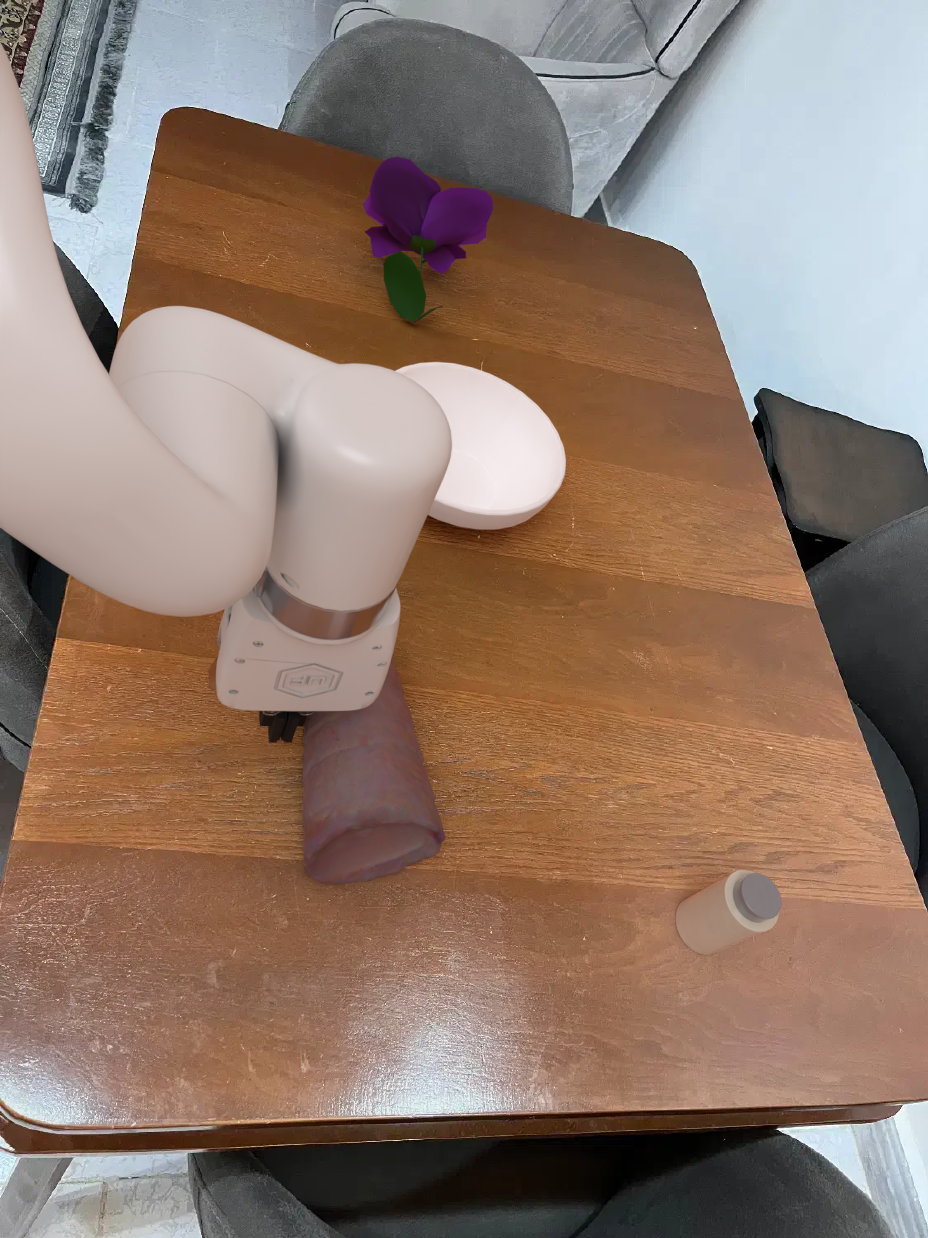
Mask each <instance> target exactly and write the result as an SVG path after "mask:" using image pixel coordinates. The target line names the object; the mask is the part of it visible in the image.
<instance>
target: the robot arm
mask: <svg viewBox="0 0 928 1238" xmlns="http://www.w3.org/2000/svg"><path fill="white" fill-rule="evenodd" d="M12 67H13V66H12V65H11V61H10V59H9V57H8V54H7V52H6V50H5V47H4V46H3V44H2V43H1V42H0V529H1V530H2V531H4V532H5V533H7V534H8V535H10V536H11V537H13V538H14V539H15V540H17V541H18V542H20V543H21V544H22V545H24V546H25V547H27V548H28V549H30V550H32V551H33V552H34V553H35V554H37V555H39V556H40V557H42V558H43V559H45V560H46V561H47V562H49V563H50V564H52V565H54V566H55V567H56V568H58V569H60V570H61V571H63V572H65V574H68V575H69V576H71V577H72V578H74V579H75V580H77V581H78V582H80V583H82V584H84V585H85V586H88V587H89V588H91V589H92V590H94V591H96V592H98V593H100V594H102V595H103V596H106V597H108V598H110V599H112V600H115V601H116V602H119V603H121V604H123V605H126V606H129V607H131V608H134V609H137V610H141V611H142V612H143V611H144V612H147V613H151V614H156V615H161V616H167V617H168V616H169V617H178V618H179V617H180V618H187V617H188V618H189V617H191V618H192V617H201V616H206V615H211V614H215V613H219V612H221V611H223V613H222V616H221V619H220V624H219V628H218V632H217V639H216V644H217V648H218V649H219V651H218V655H217V657H216V658H215V659H214V661H213V662H212V664H211V665H210V667H209V668H208V678H207V679H208V685H207V686H208V689H210V690H213V691H216V695H217V696H216V697H217V700H218V701H219V703H221V704H222V705H224V706H225V707H228V708H231V709H234V710H239V711H253V712H254V711H256V712H257V711H258V718H259V719H258V722H259V727H267V735H268V737H267V738H268V743H269V744H277V742H280V741H281V742H283V743H284V744H285V743H286V744H289V743H291V744H292V742H293V740H294V738H295V735H296V733H297V732H296V731H297V729H298V727H304V726H303V725H304V723H305V720H306V717H307V716H308V715H313V714H315V713H316V712H317V711H351V710H358V709H362V708H365V707H368V706H369V705H371V704H372V703H373V702H374V701H375V700H376V698H377V697H378V695H379V693H380V691H381V689H382V686H383V684H384V681H385V678H386V675H387V672H388V669H389V666H390V662H391V658H392V655H393V656H394V651H395V647H396V642H397V638H398V632H399V626H400V620H401V619H400V618H401V599H400V596H399V593H398V589H397V586H398V584H399V582H400V579H401V577H402V574H403V573H404V569H405V568H406V565H407V563H408V561H409V558H410V556H411V554H412V552H413V549H414V547H415V545H416V543H417V540H418V538H419V536H420V533H421V532H422V529H423V527H424V524H425V522H426V520H427V517H428V516H429V515H428V513H429V511H430V508H431V506H432V504H433V502H434V499H435V497H436V495H437V492H438V490H439V488H440V486H441V483H442V481H443V479H444V476H445V473H446V471H447V468H448V465H449V462H450V459H451V452H452V437H451V429H450V426H449V423H448V420H447V418H446V415H445V413H444V412H443V410H442V408H441V406H440V405H439V404H438V402H437V401H436V400H435V398H434V397H433V396H432V395H431V394H430V393H429V392H428V391H427V390H425V389H424V388H423V387H422V386H420V385H419V384H418V383H416V382H415V381H413V380H412V379H410V378H408V377H406V376H405V375H403V374H401V373H398V372H396V370H393V369H391V368H387V367H384V366H381V365H375V364H370V363H359V362H358V363H357V362H353V363H352V362H351V363H337V362H334V361H332V360H329V359H327V358H324V357H321V356H319V355H317V354H314V353H312V352H310V351H307V350H305V349H302V348H300V347H297V346H296V345H294V344H291V343H289V342H287V341H285V340H282V339H280V338H279V337H276V336H273V335H271V334H269V333H266V332H265V331H262V330H260V329H258V328H256V327H255V326H252V325H249V324H247V323H245V322H243V321H240V320H237V319H235V318H232V317H229V316H227V315H224V314H222V313H218V312H215V311H212V310H208V309H205V308H200V307H193V306H185V305H168V306H167V305H166V306H161V307H157V308H153V309H150V310H148V311H146V312H144V313H142V314H140V315H138V316H137V317H136V318H135V319H133V320H132V321H131V322H130V323H129V324H128V326H126V328H125V329H124V331H123V332H122V333H121V336H120V337H119V338H118V339H119V340H118V342H117V343H116V347H115V349H114V352H113V356H112V360H111V363H110V368H109V372H108V370H107V369H106V367H105V366H104V363H102V361H101V360H100V358H99V355H98V353H97V351H96V350H95V347H94V345H93V344H92V342H91V340H90V338H89V336H88V334H87V332H86V330H85V328H84V326H83V324H82V321H81V320H80V317H79V314H78V312H77V310H76V307H75V305H74V301H73V299H72V297H71V296H70V292H69V290H68V287H67V283H66V279H65V277H64V274H63V271H62V268H61V264H60V262H59V259H58V255H57V250H56V246H55V243H54V238H53V234H52V232H51V231H52V230H51V227H50V221H49V217H48V212H47V207H46V201H45V195H44V191H43V184H42V180H41V174H40V169H39V163H38V159H37V152H36V147H35V142H34V139H33V138H34V137H33V134H32V130H31V125H30V122H29V118H28V114H27V111H26V108H25V104H24V103H25V102H24V101H23V97H22V94H21V90H20V87H19V84H18V82H17V78H16V76H15V73H14V71H13V68H12Z"/></svg>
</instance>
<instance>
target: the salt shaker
mask: <svg viewBox="0 0 928 1238" xmlns="http://www.w3.org/2000/svg"><path fill="white" fill-rule="evenodd" d="M782 902H783V901H782V896H781V892H780V890H779V889H778V886H777V885H776V884H775V882H773V880H772V879H770V878H769V877H768V876H767V875H764V874H762V873H760V872H759V873H758V872H755V871H752V870H749V869H739V870H735V871H733V872H732V873H730V874H728V875H726V876H724V877H723V878H721V879H719V880H717V881H715V882H714V883H712V884H710V885H708V886H707V887H704V889H701V890H699V891H697V892H695V893H694V894H692V895H689V897H687V898H684V900H682V901H681V902H680V903H679V904H678V906H677V908H676V912H675V919H674V920H675V926H676V931H677V933H678V935H679V937H680V939H681V940H682V941H683V943H684V944H685V945H686V946H687V947H688V949H690V950H691V951H693V952H695V953H696V954H699V955H702V956H713V955H715V954H718V953H720V952H722V951H724V950H727V949H730V948H731V947H733V946H737V945H738V944H740V943H743V942H744V941H745V942H746V941H747V940H749V939H752V938H754V937H756V936H759V935H761V934H764V933H766V932H769V931H770V930H771V929H773V927H775V925H776V923H777V922H778V919H779V916H780V915H779V914H780V911H781V909H782Z"/></svg>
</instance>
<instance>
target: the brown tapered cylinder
mask: <svg viewBox="0 0 928 1238" xmlns="http://www.w3.org/2000/svg"><path fill="white" fill-rule="evenodd" d="M410 709H411V708H410V707H409V703H408V701H407V699H406V697H405V696H404V686H403V684H402V681H401V678H400V675H399V673H398V671H397V665H396V660H395V656H394V654H393V655H392V658H391V662H390V666H389V669H388V672H387V675H386V678H385V681H384V684H383V686H382V689H381V691H380V693H379V695H378V697H377V698H376V700H375V701H374V702H373V703H372V704H371V705H369V706H368V707H365V708H362V709H358V710H351V711H317V712H316V713H315V714H313V715H308V716H307V717H306V720H305V723H304V725H303V726H302V727H303V741H302V742H303V745H302V746H303V755H302V774H301V776H302V778H301V779H302V786H303V788H302V820H301V821H302V823H301V824H302V825H301V826H302V831H303V839H302V847H303V849H302V853H303V854H302V856H303V857H302V858H303V859H302V862H303V863H302V864H303V870H304V874H305V875H306V876H308V877H310V878H312V879H313V880H314V881H315V882H318V883H319V884H330V885H342V884H348V883H354V882H370V881H373V880H374V879H377V878H380V877H386V876H389V875H394V874H398V873H399V872H401V871H403V869H405V868H407V867H410V866H412V865H415V864H418V863H420V862H422V861H423V860H425V859H430V858H433V857H436V856H437V855H438V854H439V852H440V850H441V846H442V844H443V843H444V841H445V840H446V838H447V837H446V834H445V830H444V826H443V823H442V819H441V816H440V813H439V810H438V807H437V805H436V798H435V794H434V791H433V788H432V785H431V782H430V778H429V775H428V772H427V770H426V768H425V765H424V761H425V759H424V755H423V752H422V749H421V745H420V742H419V740H418V736H417V734H416V732H415V727H414V720H413V716H412V713H411V710H410Z"/></svg>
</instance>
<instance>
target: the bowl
mask: <svg viewBox="0 0 928 1238" xmlns="http://www.w3.org/2000/svg"><path fill="white" fill-rule="evenodd" d="M395 371H396V372H398V373H401V374H403V375H405V376H406V377H408V378H410V379H412V380H413V381H415V382H416V383H418V384H419V385H420V386H422V387H423V388H424V389H425V390H427V391H428V392H429V393H430V394H431V395H432V396H433V397H434V398H435V400H436V401H437V402H438V404H439V405H440V406H441V408H442V410H443V412H444V413H445V415H446V418H447V420H448V423H449V426H450V429H451V437H452V452H451V459H450V462H449V465H448V468H447V471H446V473H445V476H444V479H443V481H442V483H441V486H440V488H439V490H438V492H437V495H436V497H435V499H434V502H433V504H432V506H431V508H430V511H429V513H428V515H427V516H429V517H431V518H433V519H436V520H437V521H441V522H443V523H446V524H449V525H452V526H456V527H460V528H466V529H472V530H489V531H490V530H493V531H495V530H502V529H507V528H512V527H515V526H517V525H519V524H523V523H525V522H526V521H528V520H530V519H531V518H533V517H534V516H535V515H536V514H538V513H540V512H541V511H542V510H543V509H544V508H545V507H546V506H548V503H549V502H551V500H552V499H553V498H554V496H555V495H556V494H557V492H558V491H559V490H560V488H561V486H562V483H563V480H564V479H565V476H566V468H567V457H566V453H565V452H566V451H565V446H564V444H563V442H562V439H561V437H560V434H559V432H558V430H557V428H556V427H555V426H554V424H553V422H552V421H551V419H550V417H548V415H547V414H546V413H545V412H544V411H543V409H542V408H540V406H539V405H538V404H537V402H535V401H533V400H532V398H530V396H528V395H527V394H526V393H524V392H523V391H521V390H520V389H518V388H517V387H515V386H514V385H513V384H510V383H509V382H508V381H505V380H504V379H502V378H500V377H498V376H495V375H494V374H493V373H492V374H491V373H490V372H486V371H483V370H481V369H479V368H475V367H471V366H467V365H463V364H459V363H455V362H443V361H442V362H441V361H429V362H418V363H414V364H409V365H405V366H402V367H400V368H398V369H396V370H395Z"/></svg>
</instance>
